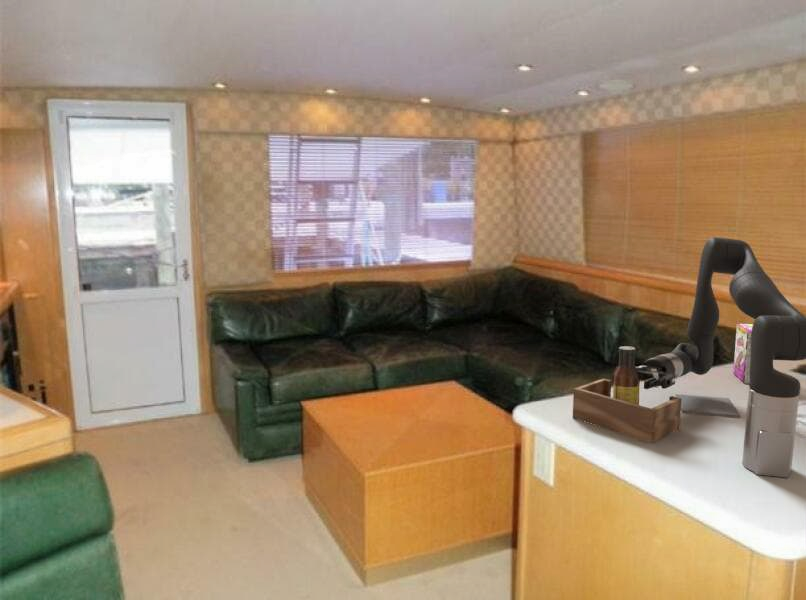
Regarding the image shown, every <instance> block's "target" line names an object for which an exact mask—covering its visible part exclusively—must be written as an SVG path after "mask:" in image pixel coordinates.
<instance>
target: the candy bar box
mask: <svg viewBox="0 0 806 600" xmlns="http://www.w3.org/2000/svg"><path fill="white" fill-rule="evenodd" d="M752 326H753V324H752V323H737V324H736V330H735V331H736V332H735V344H734V345H735V347H734V348H735V349H734V356H733V357H734V358H733V359H734V360H733V371H732V374H734V375H735V376H736V377H737V379H739V381H741V382H742V384H746V385H747V384H748V385H750V356H751V332H752Z"/></svg>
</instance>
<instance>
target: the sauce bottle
mask: <svg viewBox="0 0 806 600" xmlns="http://www.w3.org/2000/svg"><path fill="white" fill-rule="evenodd" d="M618 354H619V356H618V358H619V359H618V360H619V361H618V366H617V367H618V368H617V369H616V368H615V371H614V372H613V373H614V380H613V387H612V389H613V392H612V393H613V394H612V395H613V396H612V398H615V399H619V400H622V401H626V402H629V403H633V404H637V405H640V380H639V376H638V373H637V370H636V367H637V366H636V354H637V351H636V348H635V347H634V346H629V345H628V346H627V345H624V346H623V345H622V346H619V347H618Z"/></svg>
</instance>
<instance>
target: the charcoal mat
mask: <svg viewBox="0 0 806 600" xmlns="http://www.w3.org/2000/svg"><path fill="white" fill-rule="evenodd" d="M674 395H675V396H676V397H677V398H681V413H682V414H691V413H694V414H693V415H702V416H703V415H706V416H716V417H728V418H729V417H730V418H738V419H739V418H741V415H740V413H739V412H738V410H737V409H736V407H735V404H733V402H732V400H731V399H730V398H729V397H720V396H717V397H716V396H707V395H705V396H704V395H694V394H693V395H692V394H682V393H681V394H679V393H677V394H676V393H675V394H674ZM675 396H674V397H675Z"/></svg>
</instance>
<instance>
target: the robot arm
mask: <svg viewBox="0 0 806 600" xmlns="http://www.w3.org/2000/svg"><path fill="white" fill-rule="evenodd" d="M714 273H719V274H724V275H725V274H727V275H733V276H732V278H731V280H730V282H729V286H728V290H729V293H730V294H729V295H730V297H731V298H732V301H734V304H735V305H736V307H737V308H738V309H739V310H740V311H741V312H742V313H743V314H745V315H746V316H748V317H750V318H752V319H754V321H753V326H752V332H751V356H750V384H748V385H749V387H748V395H747V396H748V397H747V406H746V415H745V417H746V418H745V428H744V438H743V439H744V440H743V449H742V451H743V452H742V461H741V462H742V463H741V464H742V465H743V467H744V468H745V469H748V470H749V471H751V472H753V473H754V474H755V475H760V476H771V477H778V478H779V477H780V478H789V475H790V474H791V473H792V467H793V459H794V448H795V439H796V427H797V420H798V419H797V418H798V410H799V402H800V393H801V382H800V381H799V379H798V378H796V377H795V376H792V375H790V374H788V373H784V372H781V371H779V370H777V369H776V368H774V361H793V362H794V361H796V362H797V361H804V360H806V316H805V315H804V314H802V313H801V312H800V310H798V308H796V307H795V306H794V305H792V304H791V302H790V301H788V299H786V297H785V296H784V295H783V294H782V292H781V291H780V290H779V288H778V286H777V285H776V284H775V283H774V281H773V280H772V279H771V278H770V276H769V275H768V274H767V273H766V271H764V269H763V267H762V266H761V265H760V263H759V261H758V260H757V257H756V256H755V254H754V252H753V249H752V248H751V246H750V245H749V244H748V243H747V242H746V241H743V240H741V239H736V238H735V239H733V238H726V237H716V236H715V237H709V239H707V241H706V242H705V244H704V246H703V248H702V251H701V255H700V261H699V267H698V275H697V280H696V281H697V282H696V288H695V296H694V303H693V308H692V312H691V315H690V318H689V322H688V324H687V325H688V326H687V328H686V331H685V333H686V337H687V338H688V339H689V340H690V341H691V342H692V343H694V344H695V345H693V344H692V343H689V342H680V343H679V344H677V346H676V347H674V349H673V350H672V351H670V352H668V353H663V354H659V355H656V356H654V357H651V358H647V359H646V360H645V361H644V362H643V363H642V364H641V365H639V366H635V367H636V370H637V373H638V376H639V380H640V381H641V382H643V389H644V390H650V389H652V388H659V387H661V389H664V390H665V389H668V388H670V387H672V386H675V384H676V380H677V379H679V378H680V377H681V378H682V377H684V376H685V375H687V374H689V373H690V372H691V373H693V374H696V375H698V376H703V375H705V374H707V373H709V372H710V370H711V369H712V368H713V367H712V366H713V364H714V337H715V334H716V330H717V328H718V324H719V321H720V309H719V305H718V302H717V300H716V297H715V294H714V291H713V286H712V279H713V274H714ZM617 368H618V366H616V367H615V370H616V369H617ZM612 379H613V381H614V372H613V375H612Z"/></svg>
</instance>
